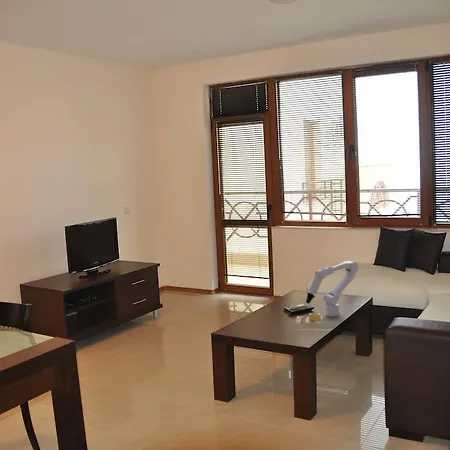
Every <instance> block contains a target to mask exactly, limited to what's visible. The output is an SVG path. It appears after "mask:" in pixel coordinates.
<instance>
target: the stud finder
mask: <svg viewBox="0 0 450 450" xmlns="http://www.w3.org/2000/svg"><path fill="white" fill-rule="evenodd" d="M308 316H309V321H321V316H322V314H321V312H309V313H308Z"/></svg>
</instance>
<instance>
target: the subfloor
mask: <svg viewBox="0 0 450 450" xmlns="http://www.w3.org/2000/svg"><path fill="white" fill-rule="evenodd" d="M322 323H323V315H321V321H309V315H299V316H298V315H297V316H296V320H295V322H294V324H300V325H301V324H302V325H303V324H304V325H305V324H322Z"/></svg>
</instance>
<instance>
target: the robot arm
mask: <svg viewBox="0 0 450 450" xmlns="http://www.w3.org/2000/svg"><path fill="white" fill-rule="evenodd" d="M340 270H345V272H346V275H345V276H344V277H343V278H342V280H340V282H339V283H338V284H337V285H336V287H335V288H334V289H333V290H331V291H329V292H328V293H326V294H325V295H324V296H323V300H324V302H325V313H326V314H325V315H326V316H328V317H340V314H341V313H340V304H337V303H338V302H339V300H340V295H341V294H342V293H343V292H344V290H345V289H346V288H347V287H348V285H350V284H351V282H352V281H353V280H354V279H355V277H356V275H357V271H358V270H359V264H358V262H356V261H352V260H344V261H343V262H341V263H339V264H337V265H334V266H332V265H327V267H324V268H323V267H322V268H321V269H316V271H315V272H314V278H313V280H312V282H311V285H310V286H309V288H307V291H308V292H307V294H306V295H307V296H306V300H305V303H306V304H308V305H310V304H311V302H312V301H313V299H314V298H315V297H316V295H317V293H318V290H319V289H320V286H321V284H322V282H323V279H325V278H327V276H328V277H329V276H330V275H331V276H332V275H333V274H334V273H335V272H337V271H340Z"/></svg>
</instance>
